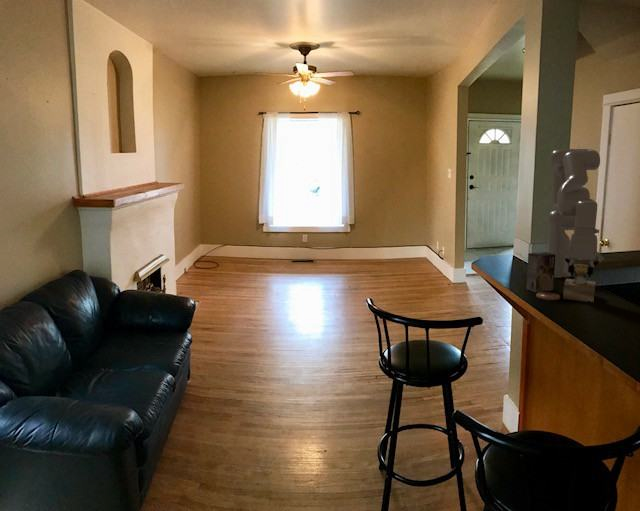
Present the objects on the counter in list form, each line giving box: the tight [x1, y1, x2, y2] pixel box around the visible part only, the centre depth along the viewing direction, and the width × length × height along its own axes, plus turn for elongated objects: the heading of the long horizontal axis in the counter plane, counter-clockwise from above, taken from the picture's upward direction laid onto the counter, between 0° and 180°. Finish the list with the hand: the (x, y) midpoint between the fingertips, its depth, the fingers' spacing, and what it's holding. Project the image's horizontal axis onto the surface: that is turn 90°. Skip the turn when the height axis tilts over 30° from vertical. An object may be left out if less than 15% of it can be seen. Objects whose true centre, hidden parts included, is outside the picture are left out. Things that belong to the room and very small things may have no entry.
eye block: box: [562, 278, 596, 303], centre depth 209 cm, size 11×11×6 cm
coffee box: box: [526, 251, 556, 293], centre depth 220 cm, size 9×6×16 cm
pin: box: [573, 263, 590, 285], centre depth 209 cm, size 6×6×13 cm
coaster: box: [535, 291, 561, 301], centre depth 210 cm, size 9×9×1 cm
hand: (580, 274), depth 208 cm, fingers closed on pin, 6 cm apart
